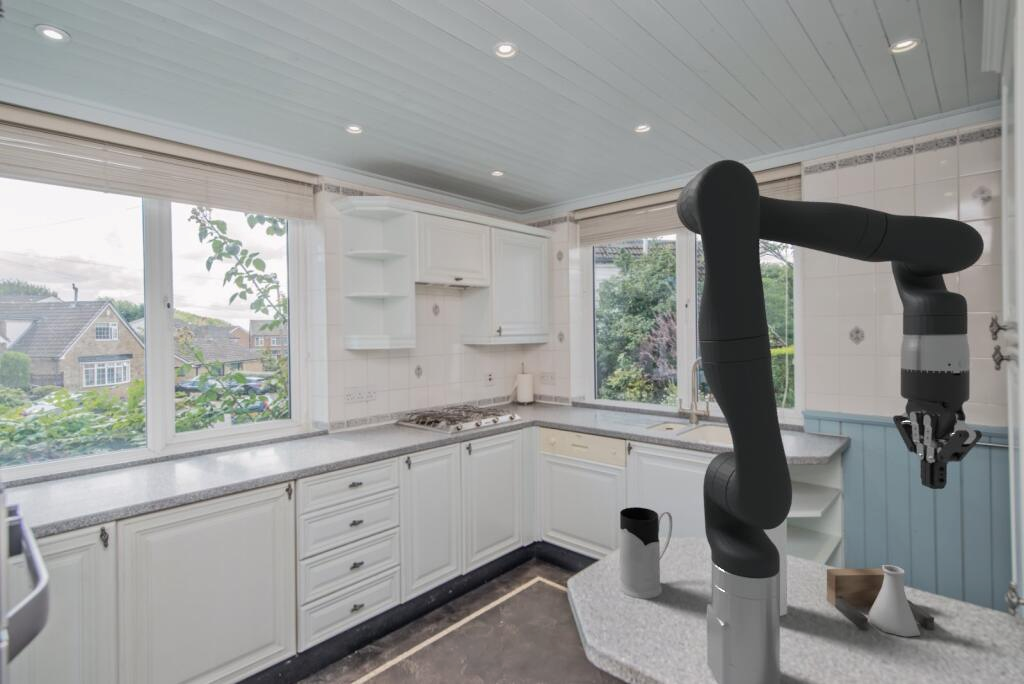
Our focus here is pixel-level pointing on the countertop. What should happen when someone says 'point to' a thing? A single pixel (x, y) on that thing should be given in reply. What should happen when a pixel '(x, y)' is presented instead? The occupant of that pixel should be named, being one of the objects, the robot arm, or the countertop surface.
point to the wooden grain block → (863, 594)
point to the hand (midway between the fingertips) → (933, 487)
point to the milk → (781, 560)
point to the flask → (893, 605)
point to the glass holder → (641, 552)
